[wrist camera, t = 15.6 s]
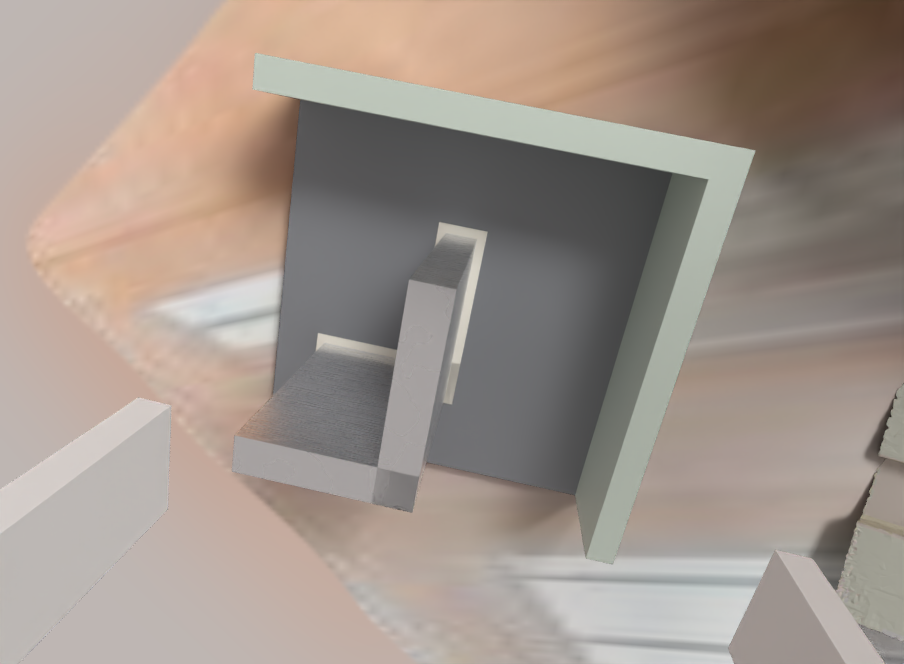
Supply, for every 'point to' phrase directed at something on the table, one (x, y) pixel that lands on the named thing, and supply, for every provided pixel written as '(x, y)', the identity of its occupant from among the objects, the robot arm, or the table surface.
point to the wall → (880, 541)
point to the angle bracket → (367, 400)
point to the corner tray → (508, 268)
